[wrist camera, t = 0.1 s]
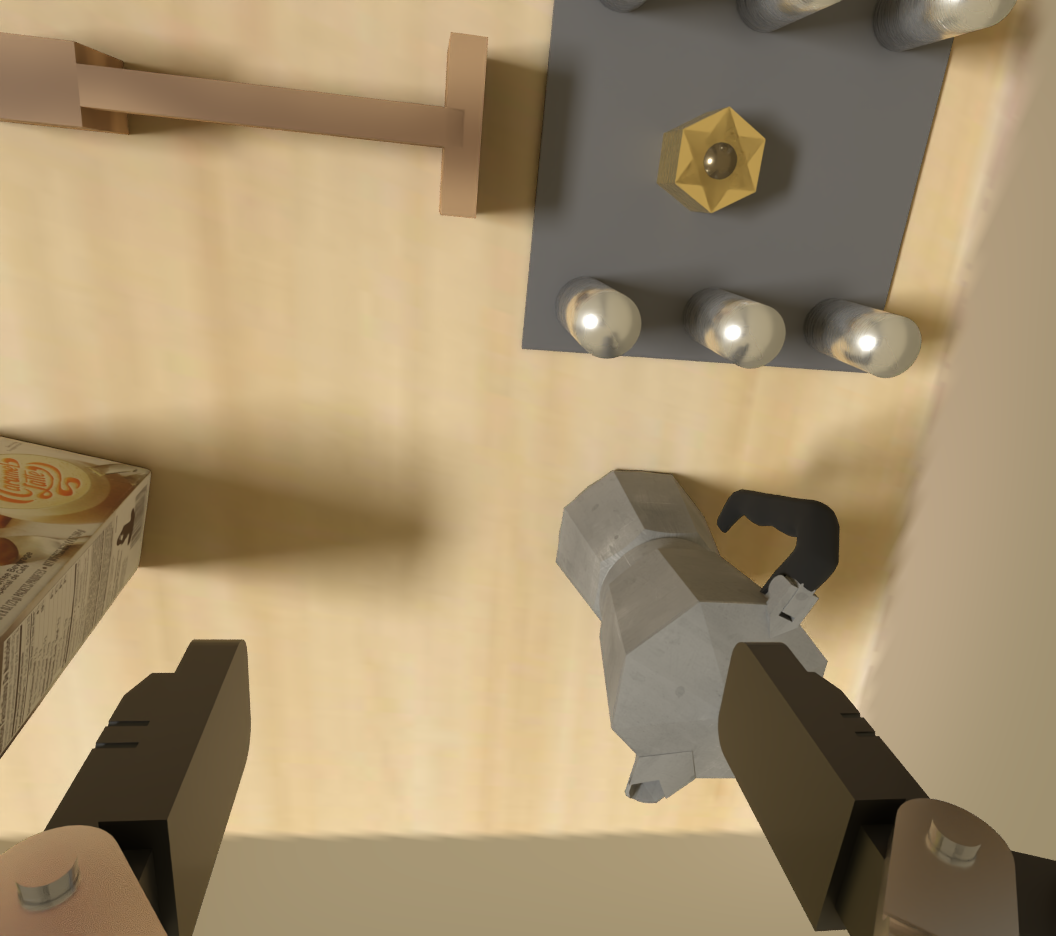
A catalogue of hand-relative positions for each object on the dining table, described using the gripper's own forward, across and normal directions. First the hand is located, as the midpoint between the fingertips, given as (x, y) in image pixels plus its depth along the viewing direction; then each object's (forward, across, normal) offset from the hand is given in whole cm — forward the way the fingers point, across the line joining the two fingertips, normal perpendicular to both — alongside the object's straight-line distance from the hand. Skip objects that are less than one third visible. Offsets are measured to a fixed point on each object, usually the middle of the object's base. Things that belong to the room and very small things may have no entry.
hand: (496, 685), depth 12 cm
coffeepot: (+29, -12, +10) cm, 33 cm away
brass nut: (+29, -12, -10) cm, 33 cm away
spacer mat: (+29, -14, -10) cm, 34 cm away
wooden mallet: (+29, +10, -10) cm, 32 cm away
